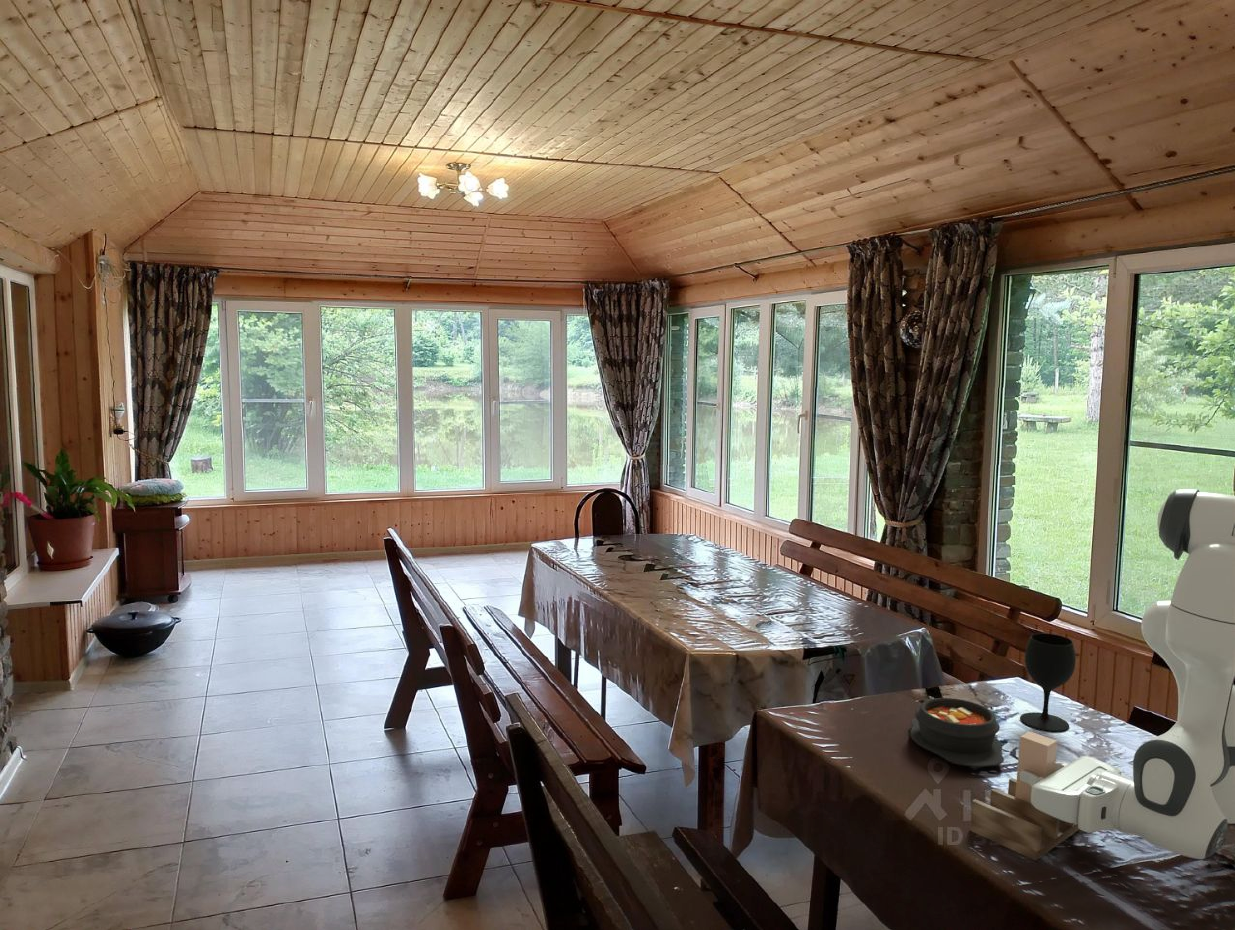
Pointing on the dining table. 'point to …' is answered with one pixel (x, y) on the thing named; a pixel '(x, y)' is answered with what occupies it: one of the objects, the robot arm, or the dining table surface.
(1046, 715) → the wine glass
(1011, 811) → the drying rack
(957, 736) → the casserole
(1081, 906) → the dining table surface
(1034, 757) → the beige rectangular block
